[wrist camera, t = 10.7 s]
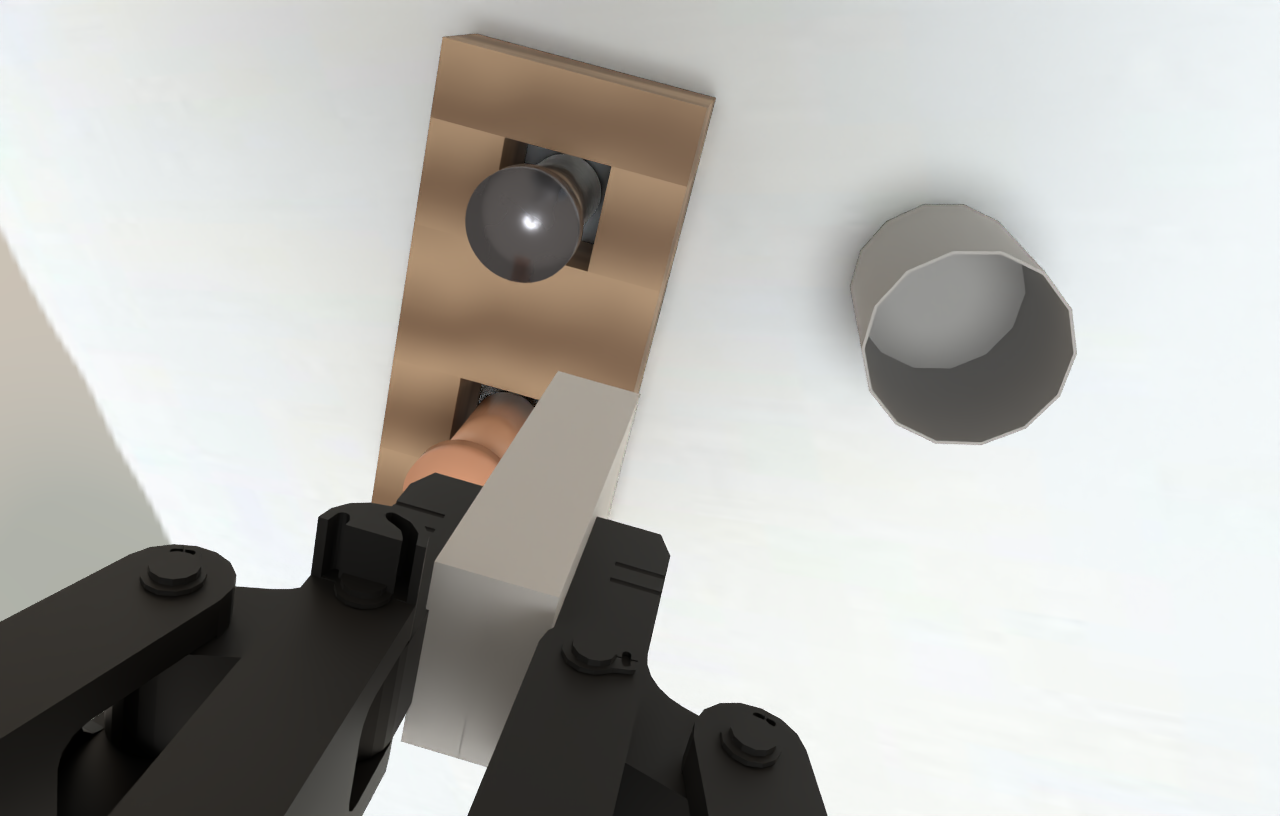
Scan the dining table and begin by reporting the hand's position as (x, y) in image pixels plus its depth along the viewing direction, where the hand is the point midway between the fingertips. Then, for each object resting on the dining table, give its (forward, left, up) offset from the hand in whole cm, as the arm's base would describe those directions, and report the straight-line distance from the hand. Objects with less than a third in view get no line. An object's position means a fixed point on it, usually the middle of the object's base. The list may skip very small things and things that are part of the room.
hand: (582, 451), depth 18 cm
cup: (+3, +12, -35) cm, 37 cm away
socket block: (+9, -7, -34) cm, 36 cm away
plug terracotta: (+15, -7, -31) cm, 35 cm away
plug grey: (+3, -7, -33) cm, 34 cm away
